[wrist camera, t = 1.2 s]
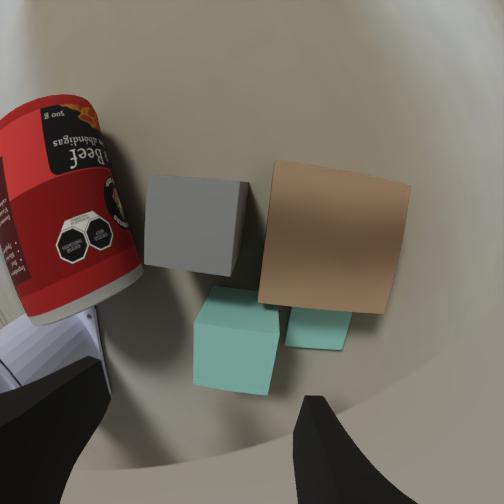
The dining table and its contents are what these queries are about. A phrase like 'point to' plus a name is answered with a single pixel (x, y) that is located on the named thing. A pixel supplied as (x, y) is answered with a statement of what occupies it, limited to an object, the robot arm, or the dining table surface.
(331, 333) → the swatch
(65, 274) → the canned food
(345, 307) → the walnut base
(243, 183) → the grey block
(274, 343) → the teal block
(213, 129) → the dining table surface
